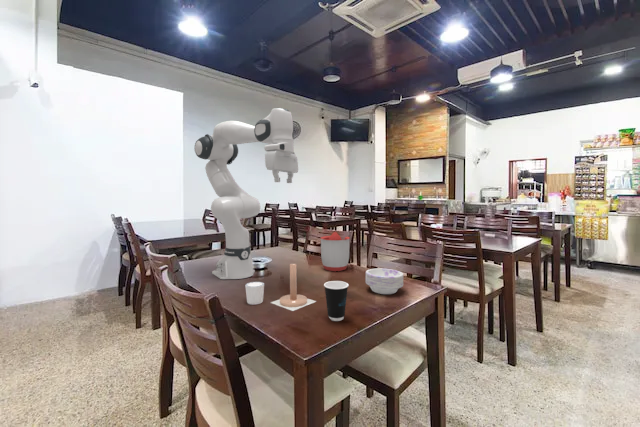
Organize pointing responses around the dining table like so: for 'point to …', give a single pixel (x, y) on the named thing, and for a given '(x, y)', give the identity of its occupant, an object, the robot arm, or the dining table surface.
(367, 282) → the paper bowls
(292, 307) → the mat
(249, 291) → the white round tub
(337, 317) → the dixie cup
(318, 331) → the dining table surface
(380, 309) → the dining table surface
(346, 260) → the citrus juicer
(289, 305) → the peg on round base
